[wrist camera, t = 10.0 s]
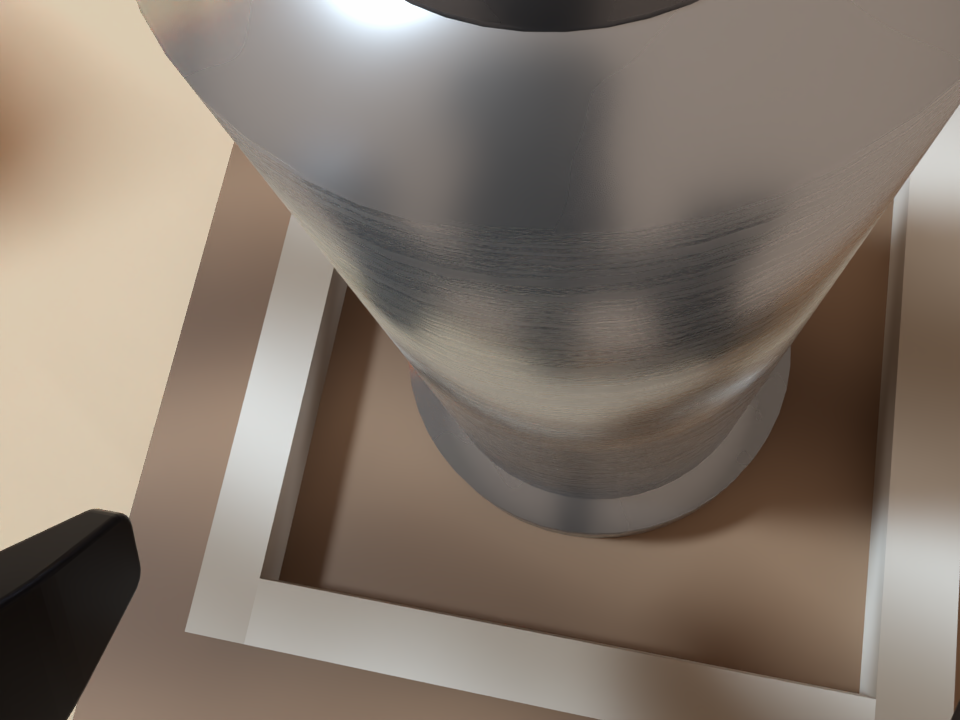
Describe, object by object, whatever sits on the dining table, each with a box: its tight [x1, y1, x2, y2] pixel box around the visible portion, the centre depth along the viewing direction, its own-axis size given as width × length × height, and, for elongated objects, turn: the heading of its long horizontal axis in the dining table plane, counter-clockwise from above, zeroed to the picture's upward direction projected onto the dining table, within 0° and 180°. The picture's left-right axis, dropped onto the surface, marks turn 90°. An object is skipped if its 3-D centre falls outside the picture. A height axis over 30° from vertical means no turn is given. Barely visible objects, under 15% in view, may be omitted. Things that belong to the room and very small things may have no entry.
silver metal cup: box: [136, 0, 960, 538], centre depth 12 cm, size 7×7×13 cm
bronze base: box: [73, 105, 960, 720], centre depth 18 cm, size 18×18×2 cm
